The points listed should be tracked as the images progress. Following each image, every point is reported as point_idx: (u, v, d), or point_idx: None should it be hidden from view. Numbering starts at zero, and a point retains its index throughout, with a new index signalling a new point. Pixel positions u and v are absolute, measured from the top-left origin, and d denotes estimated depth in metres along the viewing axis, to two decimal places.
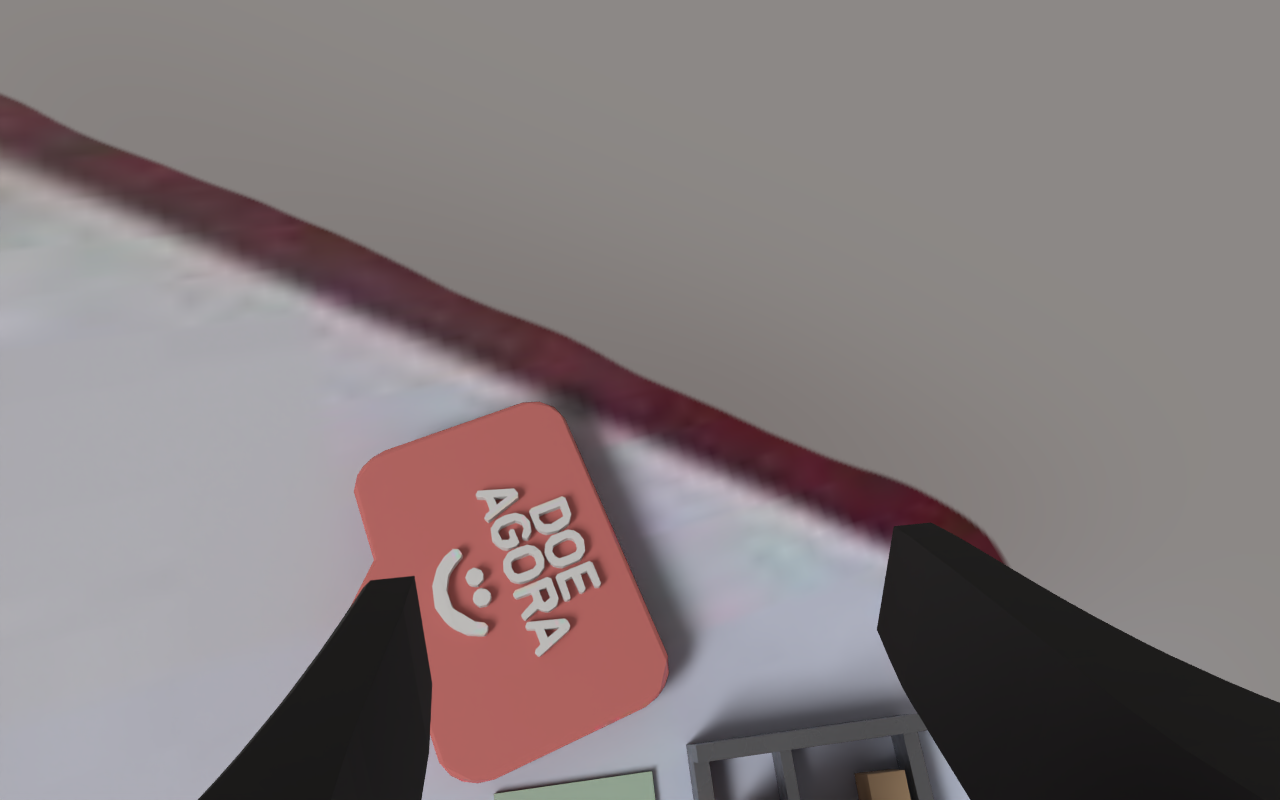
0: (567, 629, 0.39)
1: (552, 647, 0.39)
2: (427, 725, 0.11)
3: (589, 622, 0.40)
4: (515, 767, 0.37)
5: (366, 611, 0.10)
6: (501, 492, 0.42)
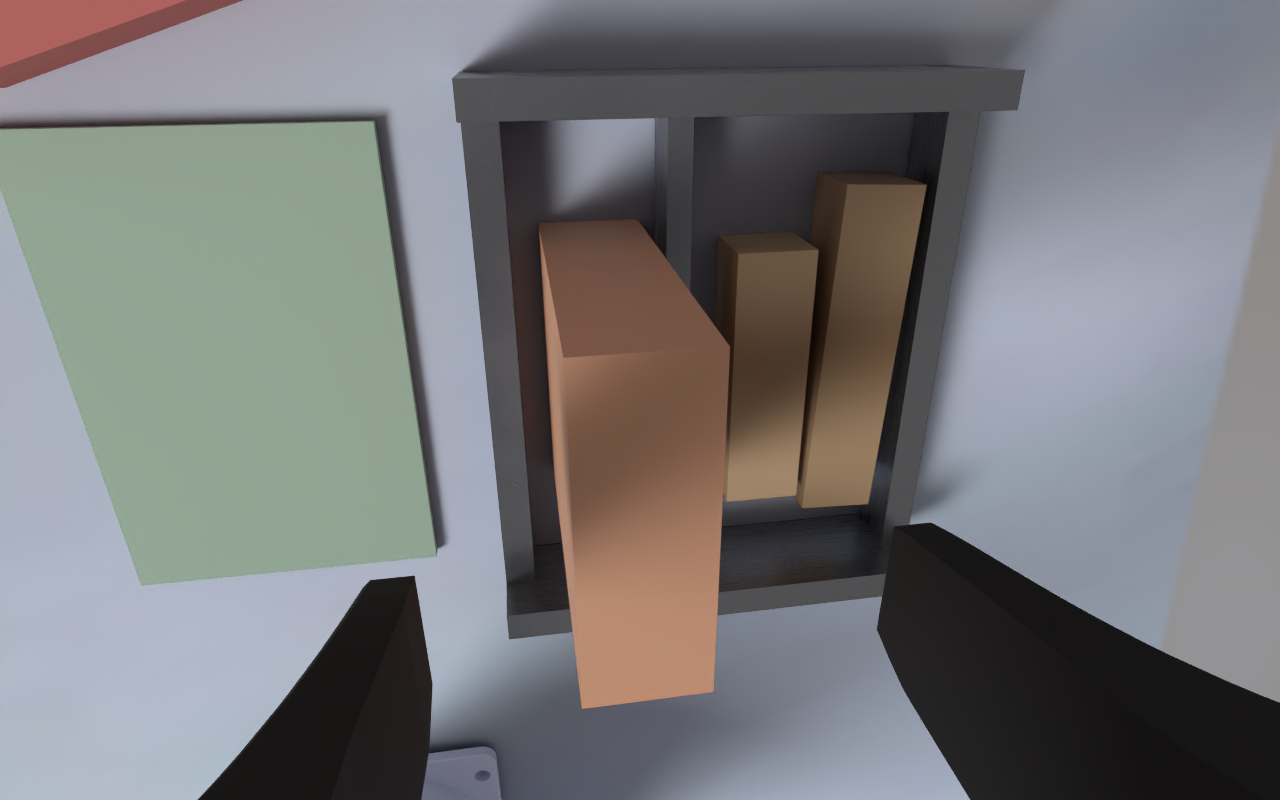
0: None
1: None
2: (427, 725, 0.11)
3: None
4: None
5: (366, 611, 0.10)
6: None
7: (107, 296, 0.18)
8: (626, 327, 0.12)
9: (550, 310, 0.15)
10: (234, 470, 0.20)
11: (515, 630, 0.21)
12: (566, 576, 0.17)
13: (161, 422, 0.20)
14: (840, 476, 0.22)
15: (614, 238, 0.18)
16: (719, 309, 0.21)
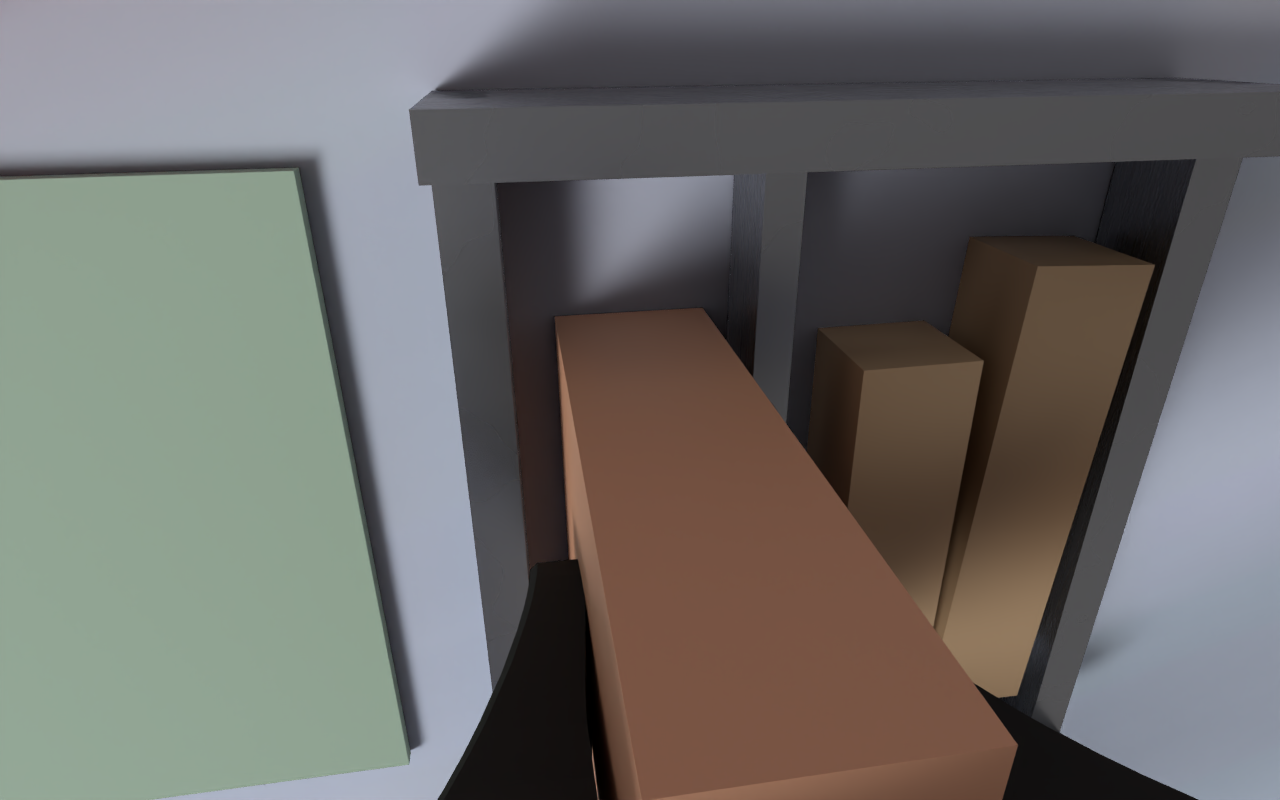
0: None
1: None
2: None
3: None
4: None
5: (549, 592, 0.10)
6: None
7: None
8: (758, 649, 0.06)
9: (584, 516, 0.09)
10: (108, 671, 0.14)
11: None
12: None
13: None
14: (983, 663, 0.15)
15: (677, 353, 0.11)
16: (816, 433, 0.14)
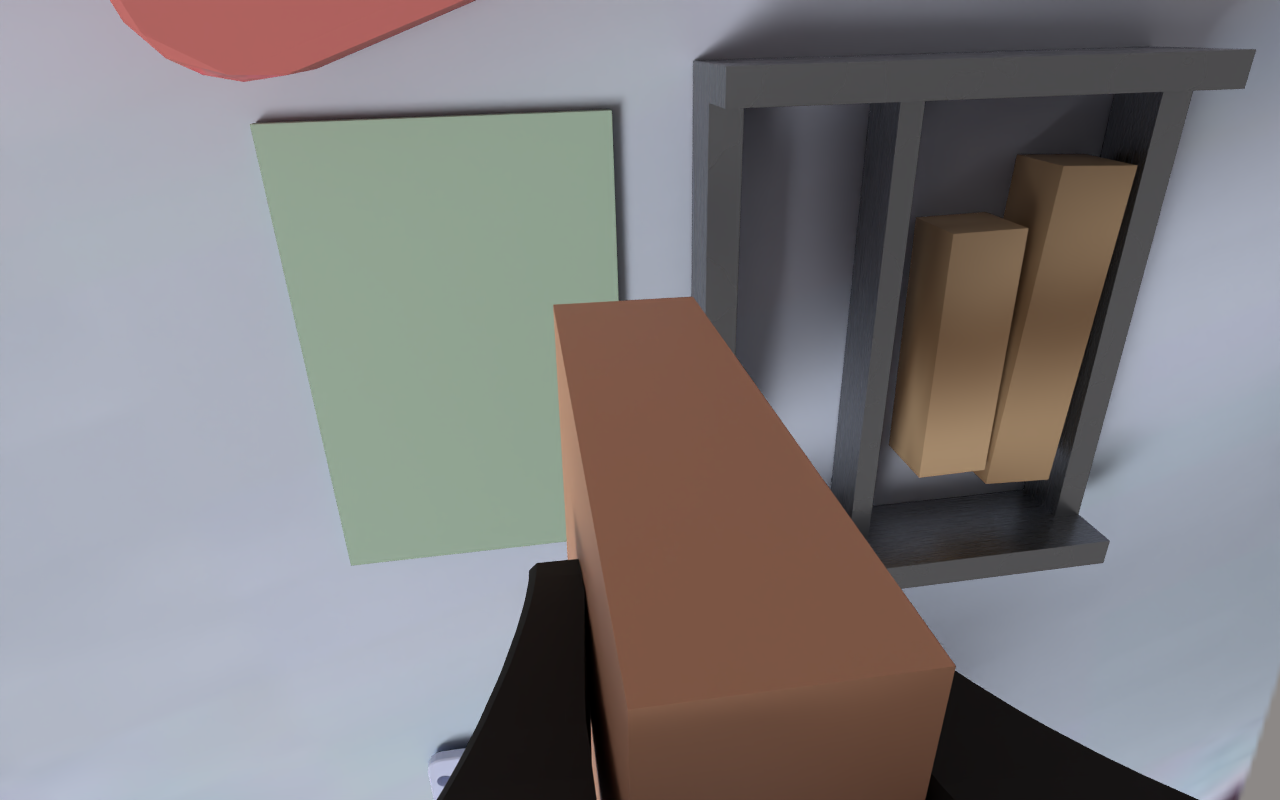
0: None
1: None
2: None
3: None
4: (337, 48, 0.14)
5: (548, 591, 0.10)
6: None
7: (349, 284, 0.19)
8: (734, 591, 0.07)
9: (580, 485, 0.09)
10: (448, 452, 0.21)
11: None
12: None
13: (386, 406, 0.20)
14: (1025, 452, 0.22)
15: (668, 338, 0.12)
16: (914, 290, 0.21)
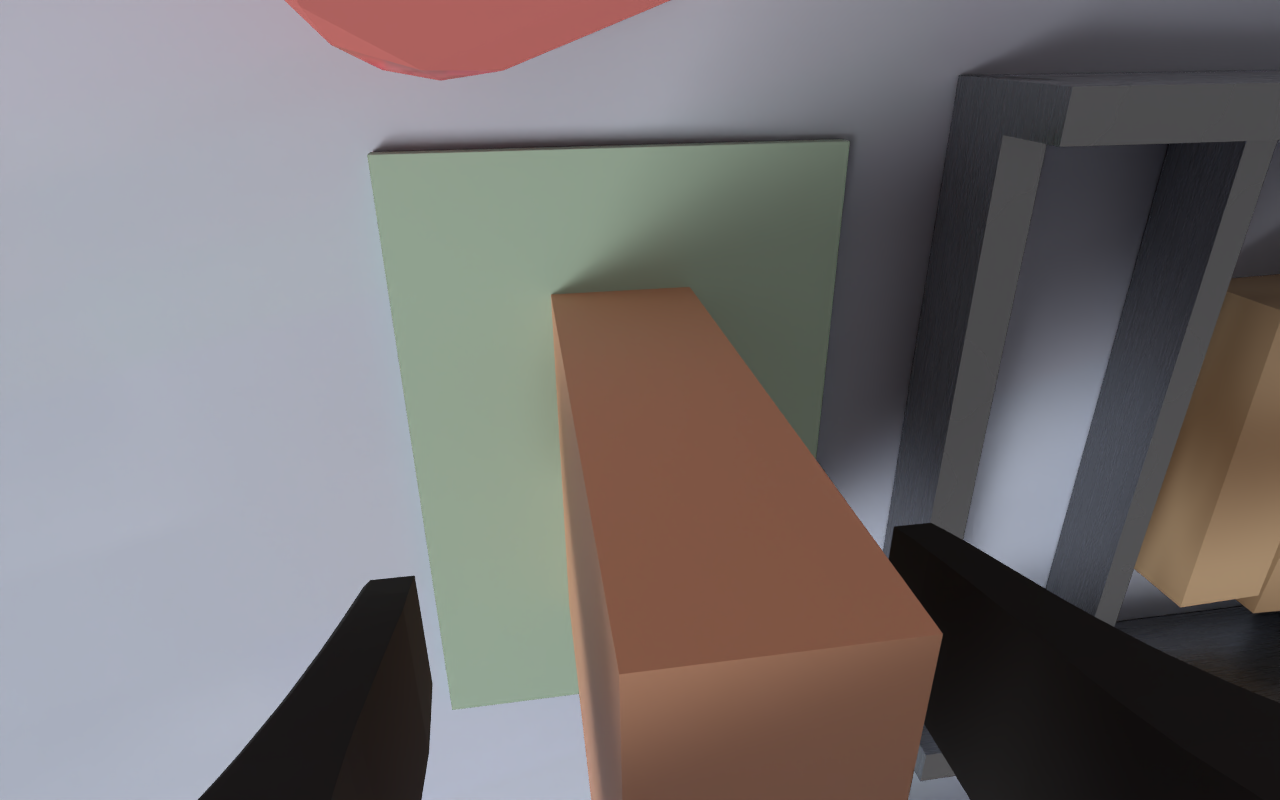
0: None
1: None
2: (427, 725, 0.11)
3: None
4: (580, 31, 0.10)
5: (366, 611, 0.10)
6: None
7: (482, 366, 0.14)
8: (726, 563, 0.07)
9: (576, 467, 0.09)
10: None
11: (930, 770, 0.17)
12: None
13: (514, 519, 0.15)
14: None
15: (664, 326, 0.12)
16: None
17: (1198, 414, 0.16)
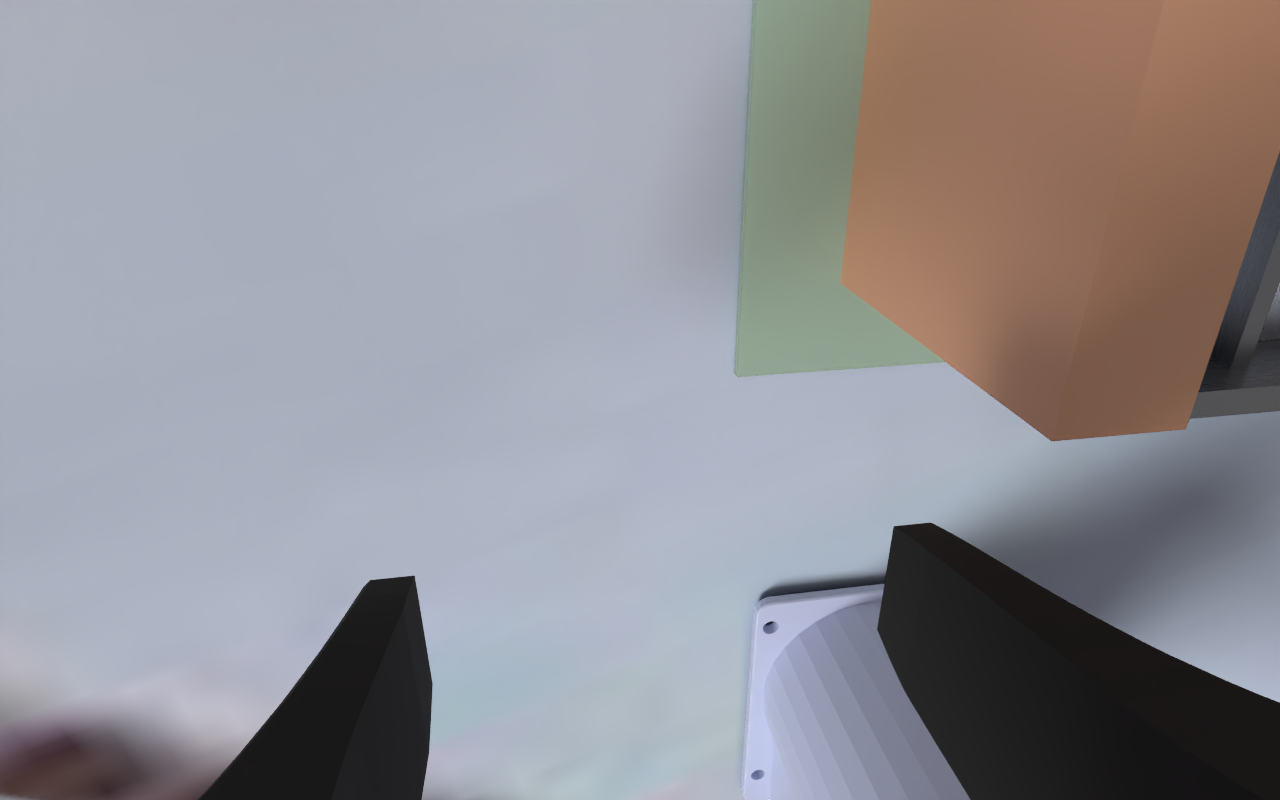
0: None
1: None
2: (427, 725, 0.11)
3: None
4: None
5: (366, 611, 0.10)
6: None
7: (813, 51, 0.18)
8: None
9: (987, 16, 0.14)
10: None
11: None
12: (939, 350, 0.16)
13: (813, 195, 0.20)
14: None
15: None
16: None
17: None
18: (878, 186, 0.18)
